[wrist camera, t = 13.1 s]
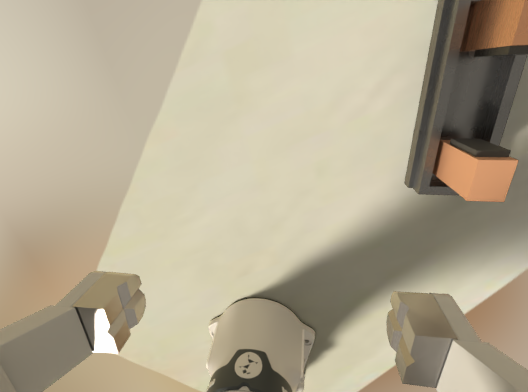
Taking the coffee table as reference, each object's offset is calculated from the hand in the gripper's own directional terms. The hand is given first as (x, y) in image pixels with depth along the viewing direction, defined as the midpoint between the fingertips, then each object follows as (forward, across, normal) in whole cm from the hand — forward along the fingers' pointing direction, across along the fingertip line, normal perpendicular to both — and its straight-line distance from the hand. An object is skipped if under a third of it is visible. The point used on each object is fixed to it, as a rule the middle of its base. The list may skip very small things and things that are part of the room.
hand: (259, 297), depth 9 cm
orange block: (+28, -18, +3) cm, 33 cm away
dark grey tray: (+29, -18, -3) cm, 35 cm away
